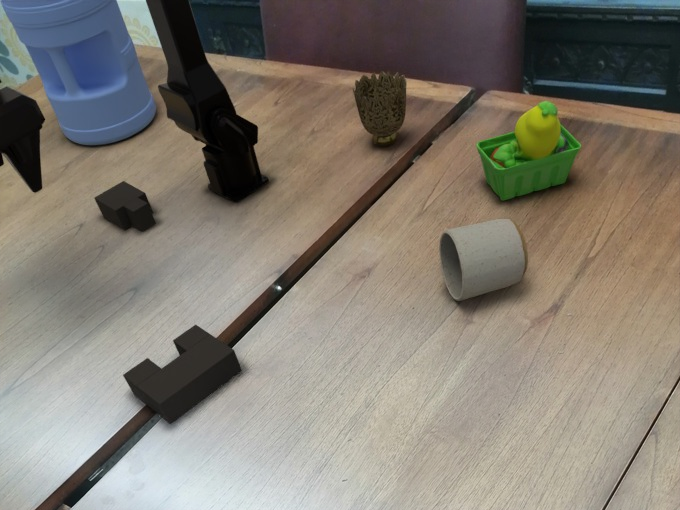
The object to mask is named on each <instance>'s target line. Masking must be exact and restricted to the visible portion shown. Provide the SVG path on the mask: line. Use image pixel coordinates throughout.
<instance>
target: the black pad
mask: <svg viewBox="0 0 680 510" xmlns="http://www.w3.org/2000/svg"><path fill="white" fill-rule="evenodd" d="M93 198H94V201H95V203H96V205H97V207H98V209H99V211H100V214H101V215H102V217H103V218H104V219H106V220H107V221H109V222H111V223H112V224H114V225H115V226H117V227H118V228H120V229H122V230H123V231H126V230H128V229H130V228H131V227H134V228H135V229H137V230H138V231H140V232H144V231H146V230H147V229H150V228H151V227H152V226H154V225H155V224H157V222H156V219H155V217H154V211H153V208H152V206H151V203H150V201H149V199H148V196H147V194H146V192H144V191H143V190H141V189H139V188H137V187H136V186H133V185H132V184H130V183H128V182H127V181H125V180H122V181H121V182H119V183H117V184H115V185H114V186H112V187H110V188H108V189H107V190H105V191H103V192H102V193H100V194H98V195H96V196H95V197H93Z"/></svg>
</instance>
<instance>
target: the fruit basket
mask: <svg viewBox="0 0 680 510" xmlns="http://www.w3.org/2000/svg"><path fill="white" fill-rule="evenodd" d="M558 114H559V113H558V108H557V106H556V104H555V103H553V102H551V101H548V100H542V101H540V102H539V103H537V105H535V106H534V107H532V108H530V109H529V110H527V111H526V112H524V113H523V114H522V115H521V116H519V118H518V120H517V121H516V123H515V127H514V131H511V132H508V133H505V134H501V135H498V136H494V137H491V138H486V139H484V140H479V141H478V142H477V143H476V149H477V153H478V154H479V157H480V160H481V164H482V168H483V173H484V176H485V177H484V178H485V181H486V184H487V185H489V186H490V188H491V189H492V190H493V192H494V193H495V195H497V196H498V197H499V199H500V201H507V200H510V199H513V198H515V197H521V196H525V195H528V194H531V193H533V192H538V191H539V192H540V191H542V190H545V189H546V190H547V189H549V188H550V187H555V186H559V185H564V184H565V183H566V181H567V178H568V176H569V174H570V172H571V169H572V167H573V164H574V162H575V159H576V157H577V155H578V153H579V152H580V150H581V148H582V144H581V143H580V142H579V141H578V140H577V139H576V138H575V137H574V136H573V135H572V134H571V133H570V132H569V130H567V129H566V128H565V127H564V126H563V124H561V121H560V119H559V117H558Z"/></svg>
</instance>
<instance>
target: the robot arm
mask: <svg viewBox="0 0 680 510" xmlns="http://www.w3.org/2000/svg"><path fill="white" fill-rule="evenodd" d="M145 2H146V5H147V8H148V12H149V15H150V17H151V20H152V23H153V26H154V29H155V32H156V34H157V37H158V41H159V43H160V47H161V49H162V53H163V55H164V58H165V61H166V65H167V76H166V82H164V83H161V84H158V86H157V89H158V92H159V94H160V96H161V98H162V100H163V102H164V105H165V109H166V118H167V119H169V120H171V121H173V122H174V124H175V125H176V127H177V128H178V129H180V130H181V131H183V132H185V133H187V134H189V135H191V137H192V138H193V140H195V141H197V142H200V143H202V144H204V146H203V147H202V148H201V152H202V154H203V157H204V161H203V167H204V169H205V172H206V176H207V179H208V182H209V183H208V184H207V187H208V189H209V190H210V191H212V192H215V194H218V195H220V196H221V197H224V198H226V199H228V200H229V201H232V202H235V203H236V202H239V201H240V200H242V199H243V198H245V197H246V196H249V195H250V194H251V193H253V192H254V191H256V190H258V189H259V188H261V187H262V186H264V185H265V184H267V183H269V182H270V179H269V176H267V175H264V174H263V173H262V172H261V168H260V165H259V161H258V158H257V154H256V150H255V145H257V144H258V142H259V126H258V125H257V124H255V123H254V122H251V121H250V120H248V119H246V118H245V117H243V116H241V115H239V114H237V110H236V107H235V105H234V104H233V101H232V98H231V96H230V94H229V92H228V90H227V87H226V85H225V84H224V82H223V81H222V80H221V78H220V77H219V76H218V74H217V73H216V71H215V70H214V68H213V67H212V65H211V64H210V63H209V60H208V57H207V55H206V53H205V49H204V46H203V42H202V39H201V35H200V32H199V28H198V25H197V23H196V18H195V15H194V12H193V7H192V6H191V2H190V0H145ZM2 83H3V82H2V80H1V79H0V84H2ZM45 121H46V118H45V116H44V114H43V112H42V109H41V108H40V106H39V103H38V102H37V100H36V99H34V98H32V97H30V96H29V95H27V94H24V93H22V92H21V91H18V90H17V89H14V88H12V87H9V86H7V85H6V86H4V87H2V88H1V89H0V167H3V166H4V165H5V162H4V158H5V159H6V161H7V162H8V163H9V164H10V166H11V167H12V168H13V170H14V171H15V172H16V173H17V175H18V176H19V177H20V178H21V180H22V181H23V182H24V184H25V185H26V186H27V188H28V189H29V190H30V191H31V192H32V193H33V194H36V193H38V192H40V191H42V190H43V177H42V176H43V175H42V161H41V130H42V129H43V128H44V127H43V124H44V123H45Z"/></svg>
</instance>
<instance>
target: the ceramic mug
mask: <svg viewBox="0 0 680 510" xmlns="http://www.w3.org/2000/svg"><path fill="white" fill-rule="evenodd" d="M438 249H439V259H440V260H439V261H440V267H441V272H442V276H443V280H444V283H445V286H446V288H447V290H448V292H449V295H451V297H452V298H453V299H454V300H455V301H457V302H461V301H465V300H467V299H471V298H475V297H478V296H481V295H484V294H488V293H491V292H495V291H498V290H501V289H504V288H505V289H506V288H508V287H510V286H513V285H515V284H518V283H519V282H520V281H522V279H523V278H524V277H525V275H526V273H527V270H528V265H529V264H528V263H529V253H528V246H527V241H526V238H525V235H524V232H523V230H522V229H521V227H520V225H519V224H518V223H517V222H516V221H515V220H513V219H512V218H497V219H496V218H495V219H491V220H487V221H483V222H478V223H472V224H467V225H463V226H456V227H452V228H447V229H445V230H443V231H442V233H441V234H440V239H439V247H438Z"/></svg>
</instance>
